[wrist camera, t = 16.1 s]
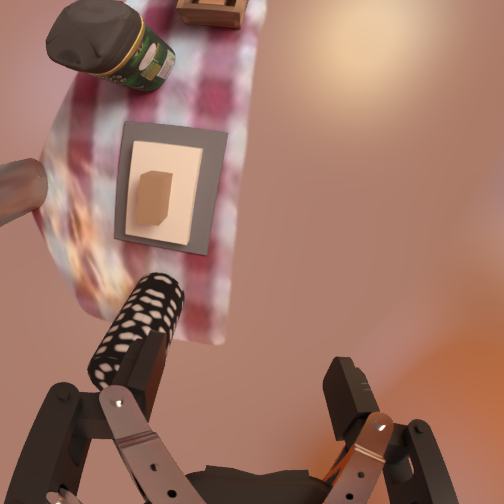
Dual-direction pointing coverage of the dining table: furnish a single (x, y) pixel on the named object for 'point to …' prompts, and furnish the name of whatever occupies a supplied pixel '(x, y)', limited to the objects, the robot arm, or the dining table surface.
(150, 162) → the lid
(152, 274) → the spotted tube
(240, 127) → the dining table surface
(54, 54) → the coffee jar
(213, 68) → the dining table surface
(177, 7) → the tea box
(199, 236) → the mat
